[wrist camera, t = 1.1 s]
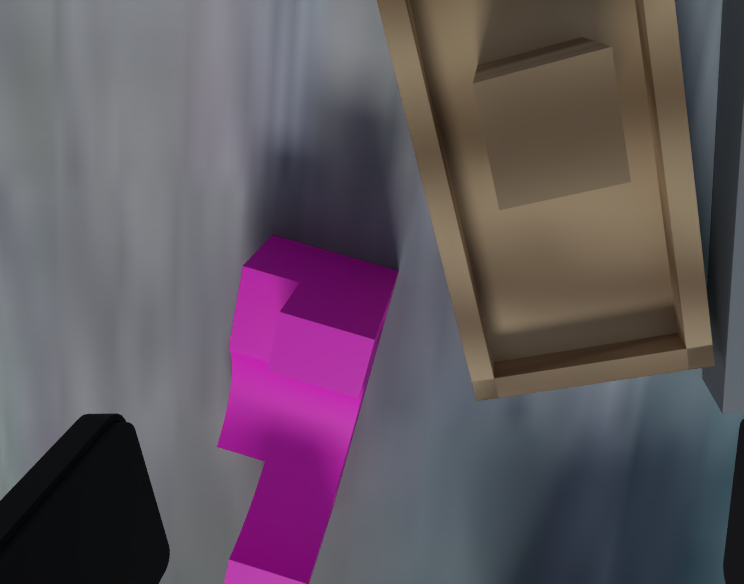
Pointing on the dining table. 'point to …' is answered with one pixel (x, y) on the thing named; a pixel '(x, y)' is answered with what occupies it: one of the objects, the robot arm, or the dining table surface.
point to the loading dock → (728, 221)
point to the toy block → (298, 395)
